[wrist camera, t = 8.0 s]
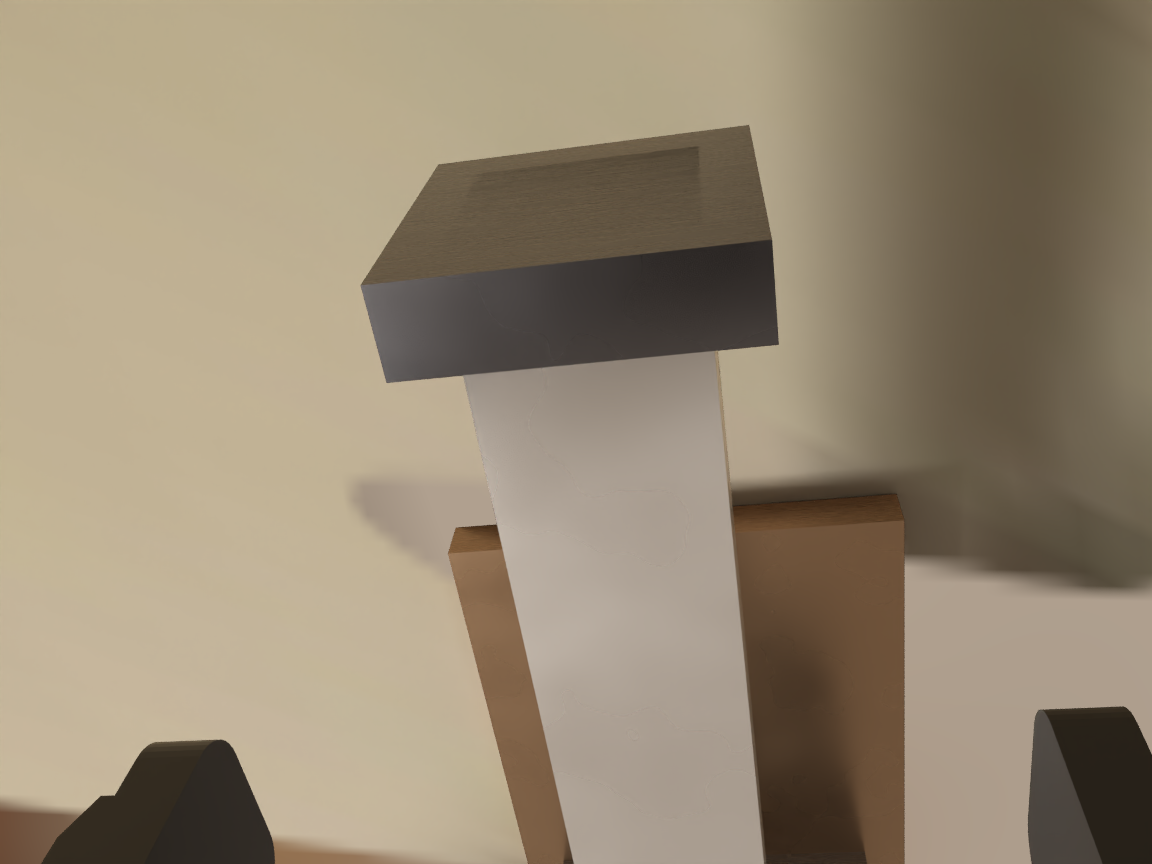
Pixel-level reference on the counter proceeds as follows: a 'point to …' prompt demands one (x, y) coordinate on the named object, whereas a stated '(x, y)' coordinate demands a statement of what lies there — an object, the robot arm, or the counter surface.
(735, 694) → the shaft
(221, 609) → the counter surface
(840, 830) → the block
